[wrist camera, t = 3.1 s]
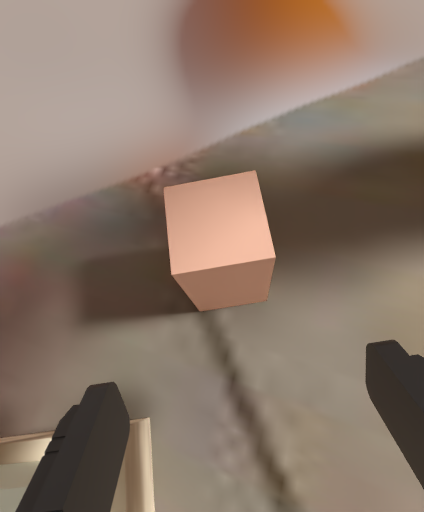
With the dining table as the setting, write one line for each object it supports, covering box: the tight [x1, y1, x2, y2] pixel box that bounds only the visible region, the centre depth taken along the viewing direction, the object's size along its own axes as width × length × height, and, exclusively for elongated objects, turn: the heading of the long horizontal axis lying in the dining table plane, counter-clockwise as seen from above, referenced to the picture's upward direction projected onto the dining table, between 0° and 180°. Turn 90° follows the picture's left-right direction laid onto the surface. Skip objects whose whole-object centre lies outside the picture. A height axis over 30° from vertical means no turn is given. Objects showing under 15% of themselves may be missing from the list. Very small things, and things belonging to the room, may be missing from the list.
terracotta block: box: [163, 170, 276, 312], centre depth 20 cm, size 5×5×9 cm
